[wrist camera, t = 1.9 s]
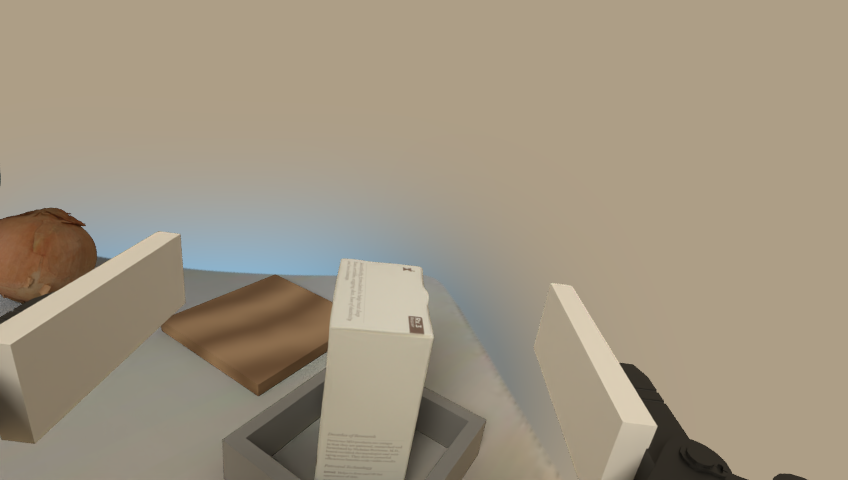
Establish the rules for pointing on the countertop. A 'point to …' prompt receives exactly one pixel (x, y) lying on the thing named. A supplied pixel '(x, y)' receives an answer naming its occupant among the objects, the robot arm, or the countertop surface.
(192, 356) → the countertop surface
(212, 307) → the coaster
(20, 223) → the onion
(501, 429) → the countertop surface
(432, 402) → the holder
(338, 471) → the skincare box
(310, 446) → the countertop surface
